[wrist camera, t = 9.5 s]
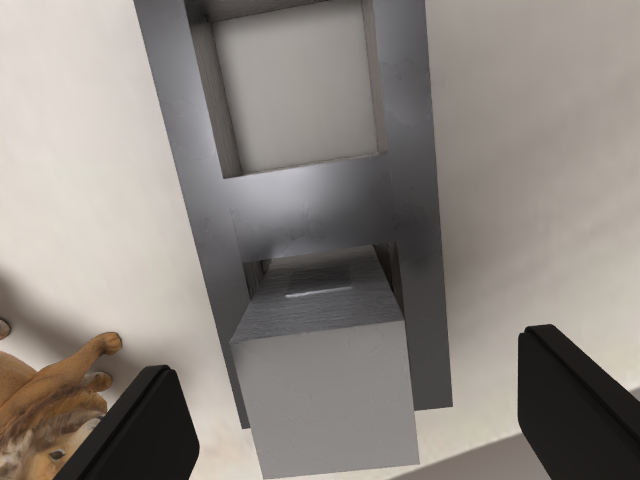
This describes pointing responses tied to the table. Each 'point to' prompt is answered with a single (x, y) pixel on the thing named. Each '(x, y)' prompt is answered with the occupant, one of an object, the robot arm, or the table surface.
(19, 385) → the lion figurine
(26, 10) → the table surface
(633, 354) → the table surface
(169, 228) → the table surface
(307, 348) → the block
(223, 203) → the rail
